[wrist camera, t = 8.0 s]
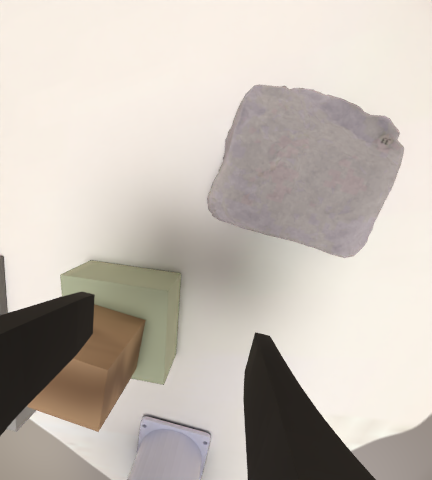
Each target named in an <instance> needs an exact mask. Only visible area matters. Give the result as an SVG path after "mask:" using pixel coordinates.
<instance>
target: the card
mask: <svg viewBox="0 0 432 480" xmlns="http://www.w3.org/2000/svg"><path fill="white" fill-rule="evenodd" d="M6 313H7V302H6V289H5V275H4V261H3V256H0V315H3V314H6Z"/></svg>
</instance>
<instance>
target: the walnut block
mask: <svg viewBox="0 0 432 480" xmlns="http://www.w3.org/2000/svg"><path fill="white" fill-rule="evenodd" d="M145 321H146V320H144V319H140V318H137V317H134V316H131V315H127V314H124V313H121V312H118V311H114V310H111V309H108V308H105V307H101V306H98V305H95V304H94V321H93V334H92V335H91V337H90V338H89V339H88V341H87V342H86V343H85V345H84V346H83V347H82V349H81V350H80V351H79V352H78V354H77V355H76V356H75V357H74V358H73V359H72V360H71V361H70V362H69V363H68V364H67V365H66V366H65V367H64V368H63V370H62V371H61V372H60V373H59V374H58V375H57V376H56V377H55V378H54V379H53V380H52V381H51V382H50V383H49V384H48V385H47V386H46V387H45V388H44V389H43V390H42V391H41V392H40V393H39V394H38V395H37V396H36V397H35V398H34V399H33V400H32V401H31V402H30V403H29V404H28V407H29V408H32V409H35V410H37V411H40V412H43V413H46V414H49V415H52V416H55V417H58V418H60V419H63V420H66V421H69V422H72V423H75V424H78V425H80V426H83V427H86V428H89V429H92V430H95V431H98V432H99V430H100V428H101V427H102V425H103V423H104V422H105V420H106V418H107V417H108V415H109V413H110V412H111V410H112V408H113V407H114V405H115V403H116V402H117V400H118V398H119V397H120V395H121V394H122V392H123V390H124V389H125V387H126V385H127V384H128V382H129V380H130V379H131V377H132V375H133V374H134V372H135V370H136V367H137V362H138V357H139V352H140V347H141V341H142V336H143V331H144V326H145Z"/></svg>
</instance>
